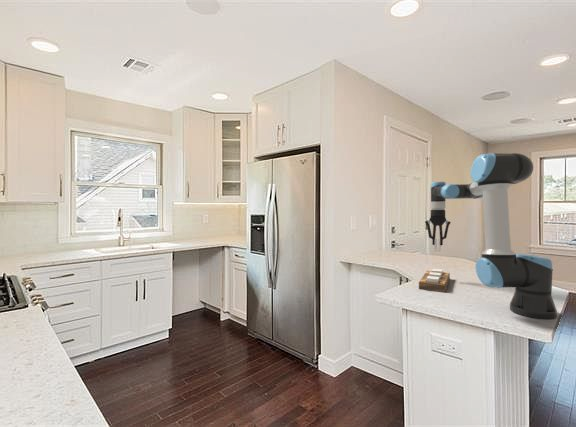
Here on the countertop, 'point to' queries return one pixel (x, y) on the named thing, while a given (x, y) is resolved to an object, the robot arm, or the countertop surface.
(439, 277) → the middle button
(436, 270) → the far button
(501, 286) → the robot arm
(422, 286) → the button board
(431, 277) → the near button
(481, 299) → the countertop surface
